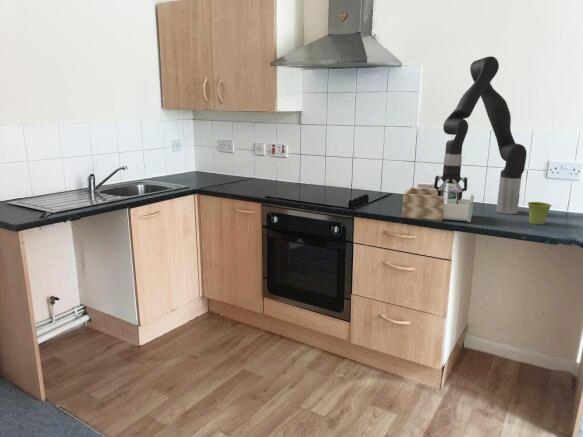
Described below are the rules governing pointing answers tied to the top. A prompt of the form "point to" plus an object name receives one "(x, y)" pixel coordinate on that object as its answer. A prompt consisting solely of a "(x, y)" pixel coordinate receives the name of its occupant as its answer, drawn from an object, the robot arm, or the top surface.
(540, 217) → the plant pot
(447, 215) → the drawer
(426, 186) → the ink box
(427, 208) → the caddy
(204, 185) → the top surface
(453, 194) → the syrup box
